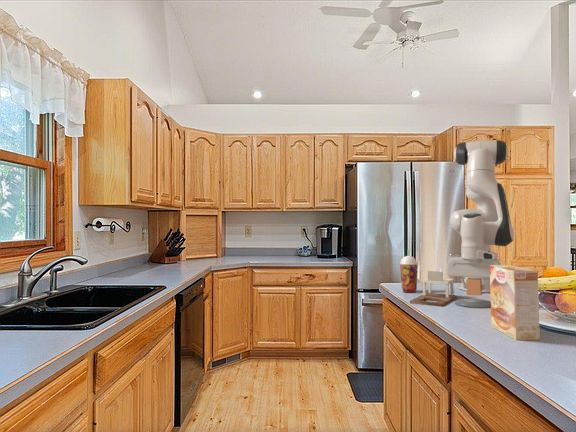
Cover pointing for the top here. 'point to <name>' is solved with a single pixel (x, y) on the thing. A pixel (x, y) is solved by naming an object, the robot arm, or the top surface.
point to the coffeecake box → (515, 301)
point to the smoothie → (408, 274)
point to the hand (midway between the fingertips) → (474, 288)
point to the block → (474, 286)
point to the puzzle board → (433, 299)
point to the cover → (437, 278)
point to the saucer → (473, 303)
